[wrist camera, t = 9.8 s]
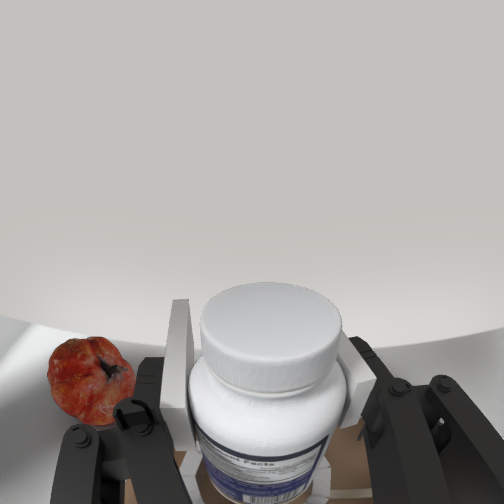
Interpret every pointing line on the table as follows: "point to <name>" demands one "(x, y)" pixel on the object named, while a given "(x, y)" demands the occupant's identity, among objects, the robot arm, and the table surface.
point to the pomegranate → (90, 379)
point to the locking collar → (196, 471)
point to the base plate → (341, 463)
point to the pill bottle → (266, 389)
